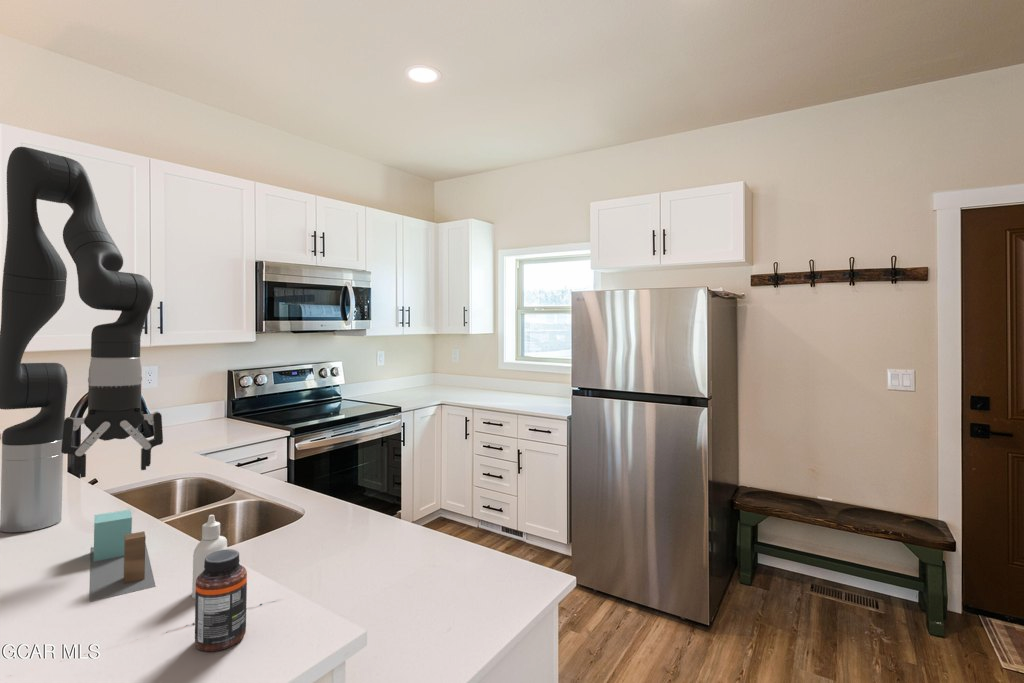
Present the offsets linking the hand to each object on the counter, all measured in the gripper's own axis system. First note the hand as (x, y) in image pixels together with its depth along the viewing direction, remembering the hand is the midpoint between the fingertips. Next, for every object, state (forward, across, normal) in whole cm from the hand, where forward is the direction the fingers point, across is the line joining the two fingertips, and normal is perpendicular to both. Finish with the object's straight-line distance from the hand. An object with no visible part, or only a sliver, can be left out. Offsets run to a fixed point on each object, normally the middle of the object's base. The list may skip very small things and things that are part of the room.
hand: (113, 472), depth 92 cm
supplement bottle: (+16, -11, +40) cm, 44 cm away
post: (+15, -2, +14) cm, 20 cm away
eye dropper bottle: (+15, -12, +25) cm, 31 cm away
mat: (+15, -1, +7) cm, 16 cm away
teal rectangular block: (+14, 0, 0) cm, 14 cm away
